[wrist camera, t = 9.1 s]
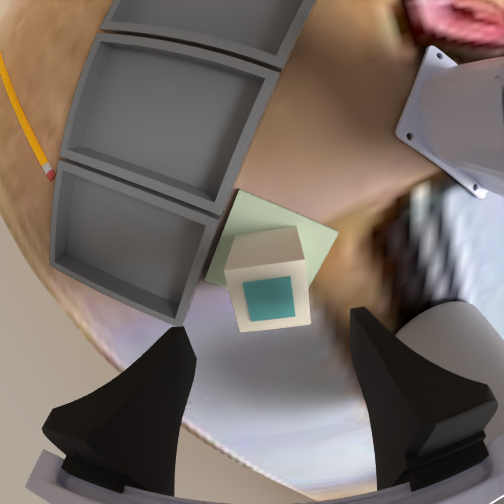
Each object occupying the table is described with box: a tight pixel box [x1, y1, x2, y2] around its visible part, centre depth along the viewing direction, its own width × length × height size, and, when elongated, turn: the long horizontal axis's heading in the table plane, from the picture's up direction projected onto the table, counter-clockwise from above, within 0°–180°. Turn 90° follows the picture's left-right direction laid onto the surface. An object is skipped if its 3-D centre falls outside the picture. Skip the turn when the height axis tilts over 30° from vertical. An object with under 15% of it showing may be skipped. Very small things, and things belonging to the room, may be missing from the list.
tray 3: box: [50, 158, 225, 327], centre depth 19 cm, size 12×9×2 cm
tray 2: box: [59, 33, 280, 216], centre depth 15 cm, size 12×9×2 cm
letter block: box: [224, 226, 311, 332], centre depth 17 cm, size 4×4×5 cm
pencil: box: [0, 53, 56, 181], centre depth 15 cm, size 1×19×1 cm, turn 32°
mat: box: [204, 189, 339, 290], centre depth 19 cm, size 7×7×1 cm
